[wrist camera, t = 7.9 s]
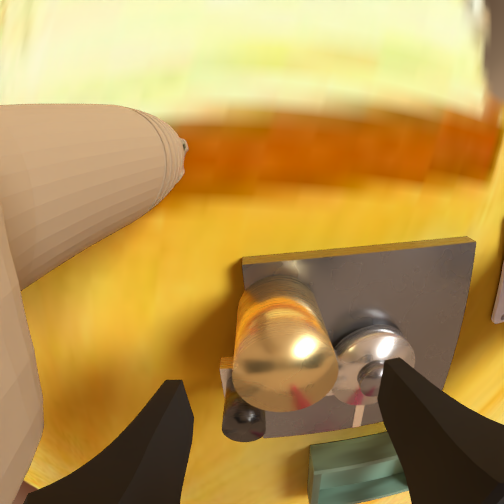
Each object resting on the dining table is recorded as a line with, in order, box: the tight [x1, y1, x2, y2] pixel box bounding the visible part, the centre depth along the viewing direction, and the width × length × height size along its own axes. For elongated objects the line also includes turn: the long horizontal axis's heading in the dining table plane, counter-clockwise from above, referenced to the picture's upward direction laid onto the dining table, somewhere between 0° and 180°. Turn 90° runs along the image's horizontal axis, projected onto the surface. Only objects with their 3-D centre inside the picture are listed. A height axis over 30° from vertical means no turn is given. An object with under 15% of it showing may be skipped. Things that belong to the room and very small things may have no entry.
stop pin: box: [232, 275, 338, 412], centre depth 14 cm, size 4×4×5 cm
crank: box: [219, 324, 415, 442], centre depth 15 cm, size 11×5×4 cm, turn 94°
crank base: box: [242, 236, 476, 438], centre depth 18 cm, size 13×13×1 cm
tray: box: [307, 432, 409, 504], centre depth 21 cm, size 10×8×3 cm
